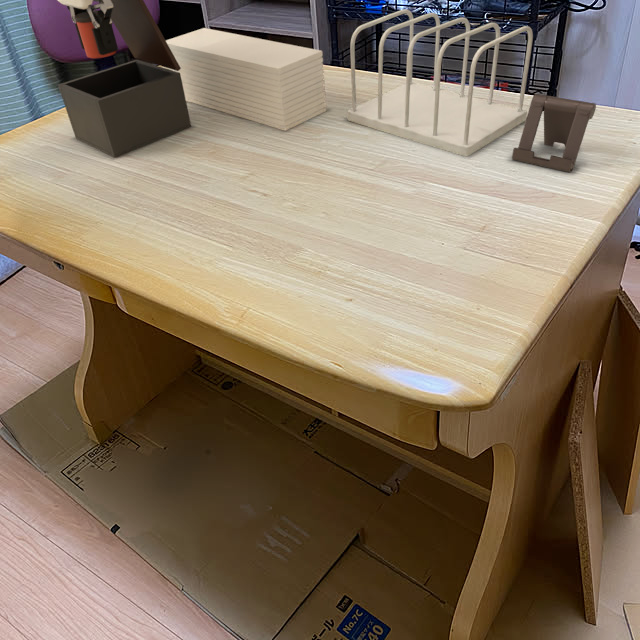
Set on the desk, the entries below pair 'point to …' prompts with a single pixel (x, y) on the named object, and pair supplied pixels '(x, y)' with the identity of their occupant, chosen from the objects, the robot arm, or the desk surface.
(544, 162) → the tablet stand
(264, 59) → the stack of papers
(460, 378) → the desk surface
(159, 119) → the brown hinged lid box
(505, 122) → the file sorter
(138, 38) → the brown box lid
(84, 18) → the container
